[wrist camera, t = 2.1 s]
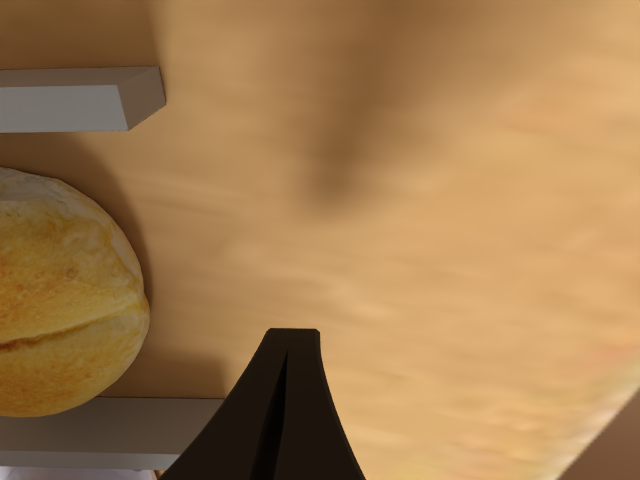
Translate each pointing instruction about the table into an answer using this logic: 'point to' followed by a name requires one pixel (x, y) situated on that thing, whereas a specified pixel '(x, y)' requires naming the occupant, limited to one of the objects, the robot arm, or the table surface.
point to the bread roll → (63, 297)
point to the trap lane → (100, 412)
